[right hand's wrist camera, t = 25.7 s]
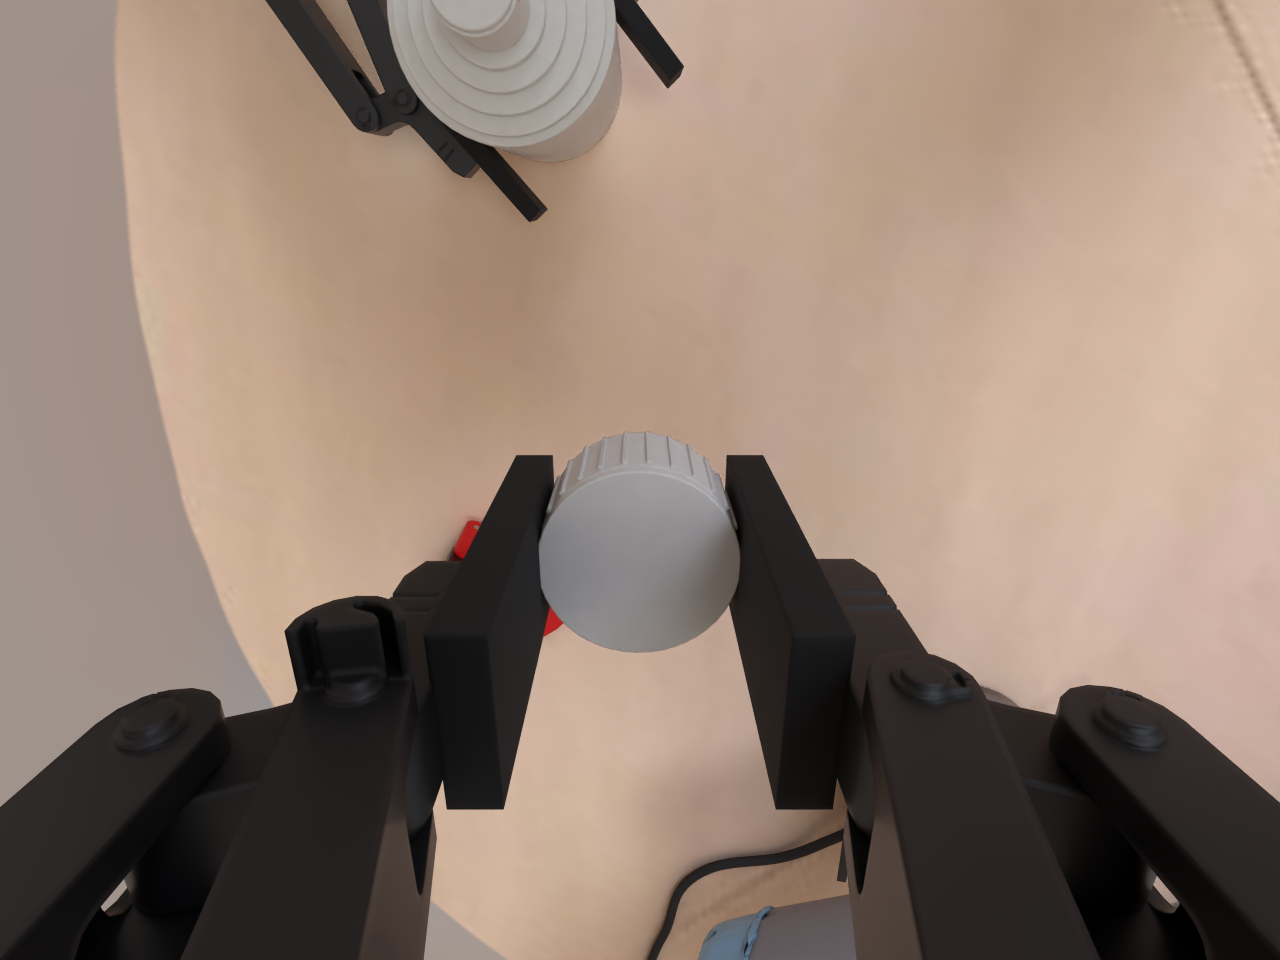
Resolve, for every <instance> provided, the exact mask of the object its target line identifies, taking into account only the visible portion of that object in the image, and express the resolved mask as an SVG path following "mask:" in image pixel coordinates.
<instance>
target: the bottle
mask: <svg viewBox="0 0 1280 960" xmlns="http://www.w3.org/2000/svg"><path fill="white" fill-rule="evenodd" d="M387 16H388V23H389V29H390V35H391V39H392V43H393V47H394V50H395V53H396V56H397V58H398V61H399V64H400V66H401V68H402V70H403V72H404V74H405V76H406V78H407V80H408V82H409V84H410V85H411V87H412V88H413V90H414V91H415V93H416V94H417V96H418V97H419V98H420V100H421V101H422V102H423V103H424V104H425V106H426V107H427V108H428V109H429V110H430V111H431V112H432V113H433V114H434V115H435V116H436V117H437V118H438V119H439V120H441V121H442V122H443V123H445V124H446V125H447V126H449V127H450V128H451V129H453V130H454V131H456V132H458V133H460V134H461V135H463V136H465V137H467V138H470V139H472V140H475V141H477V142H480V143H483V144H486V145H489V146H492V147H495V148H498V149H501V150H504V151H507V152H510V153H514V154H517V155H520V156H523V157H526V158H529V159H532V160H536V161H542V162H560V161H566V160H569V159H572V158H575V157H577V156H579V155H581V154H583V153H585V152H586V151H588V150H589V149H591V148H592V147H593V146H594V145H595V144H596V143H598V142H599V141H600V139H601V138H602V137H603V136H604V135H605V133H606V132H607V130H608V129H609V127H610V125H611V124H612V121H613V119H614V117H615V115H616V112H617V109H618V106H619V101H620V96H621V86H622V77H621V63H620V53H619V43H618V33H617V23H616V13H615V5H614V0H387Z"/></svg>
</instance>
